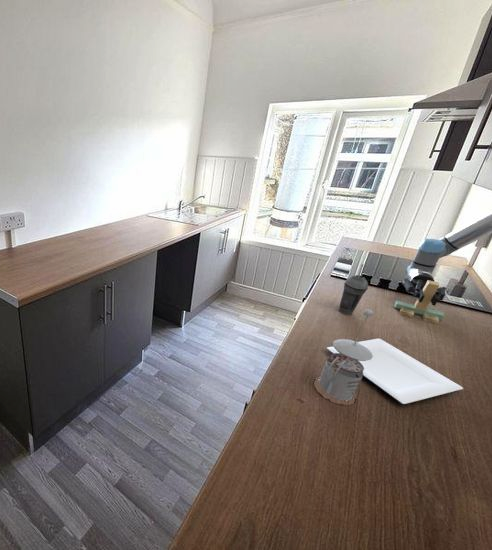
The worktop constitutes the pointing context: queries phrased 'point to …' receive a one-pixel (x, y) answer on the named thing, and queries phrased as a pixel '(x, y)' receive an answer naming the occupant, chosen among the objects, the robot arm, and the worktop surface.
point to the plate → (402, 373)
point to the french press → (345, 367)
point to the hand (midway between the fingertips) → (428, 300)
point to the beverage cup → (352, 293)
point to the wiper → (422, 306)
